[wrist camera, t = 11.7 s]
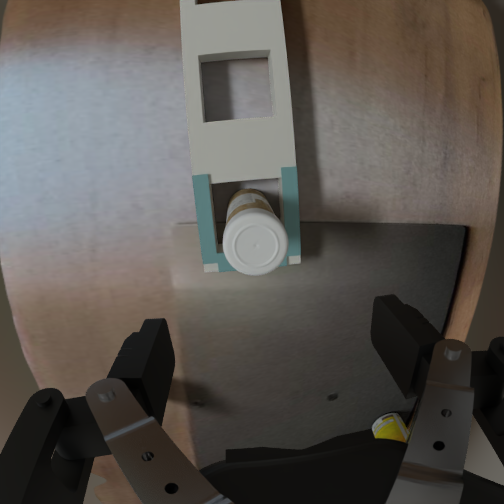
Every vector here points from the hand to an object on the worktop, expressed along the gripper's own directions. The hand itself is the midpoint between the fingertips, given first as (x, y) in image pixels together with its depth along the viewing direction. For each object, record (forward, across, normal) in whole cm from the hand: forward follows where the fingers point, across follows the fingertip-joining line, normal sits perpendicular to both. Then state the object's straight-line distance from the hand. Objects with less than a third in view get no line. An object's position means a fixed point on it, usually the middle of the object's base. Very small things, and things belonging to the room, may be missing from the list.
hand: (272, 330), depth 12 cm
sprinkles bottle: (+24, 0, 0) cm, 24 cm away
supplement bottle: (+24, -21, +39) cm, 50 cm away
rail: (+24, 0, -13) cm, 27 cm away
